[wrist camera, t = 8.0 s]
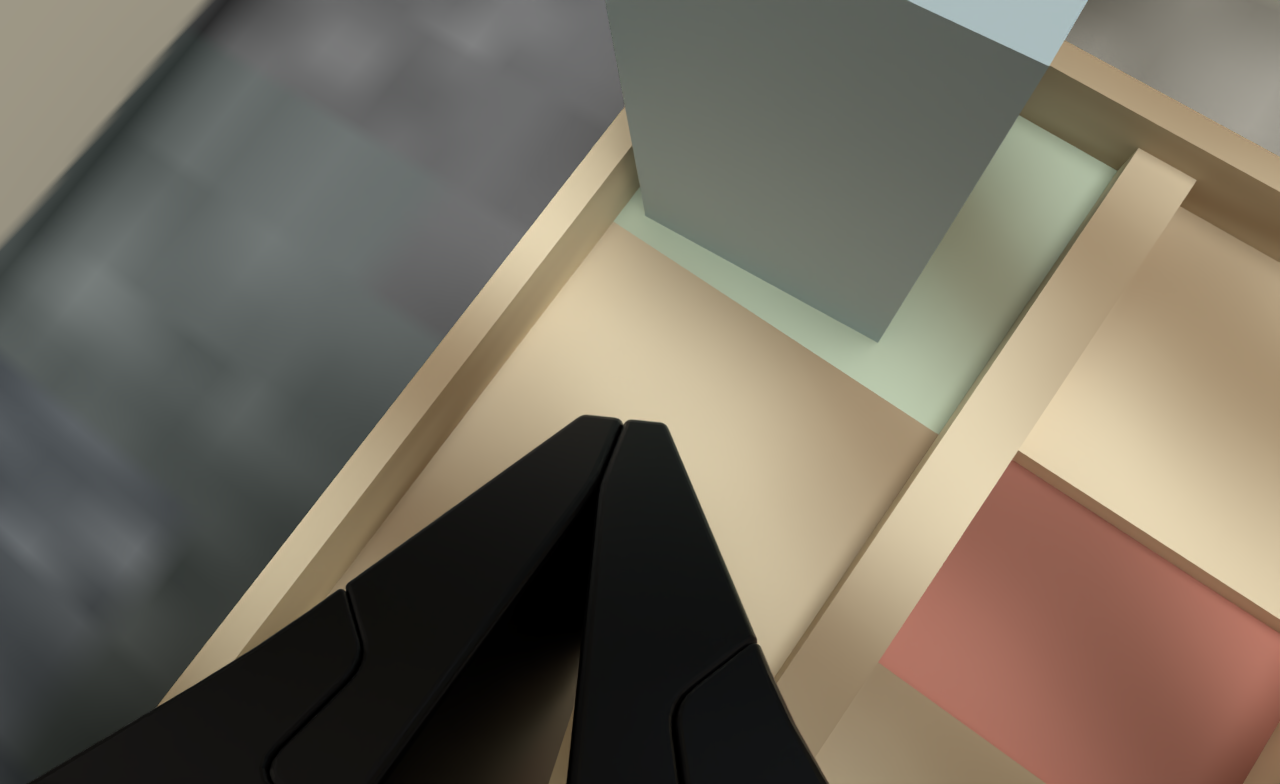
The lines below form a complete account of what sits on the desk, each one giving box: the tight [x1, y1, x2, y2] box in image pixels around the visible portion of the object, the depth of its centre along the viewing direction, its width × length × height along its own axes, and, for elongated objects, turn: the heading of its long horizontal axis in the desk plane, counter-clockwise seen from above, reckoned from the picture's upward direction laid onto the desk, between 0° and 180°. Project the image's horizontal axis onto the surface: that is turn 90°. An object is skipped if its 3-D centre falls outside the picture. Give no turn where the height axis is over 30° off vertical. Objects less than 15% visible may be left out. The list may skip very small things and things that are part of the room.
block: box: [605, 0, 1088, 343], centre depth 12 cm, size 4×4×8 cm
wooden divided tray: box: [157, 40, 1280, 784], centre depth 14 cm, size 21×14×2 cm, turn 144°
